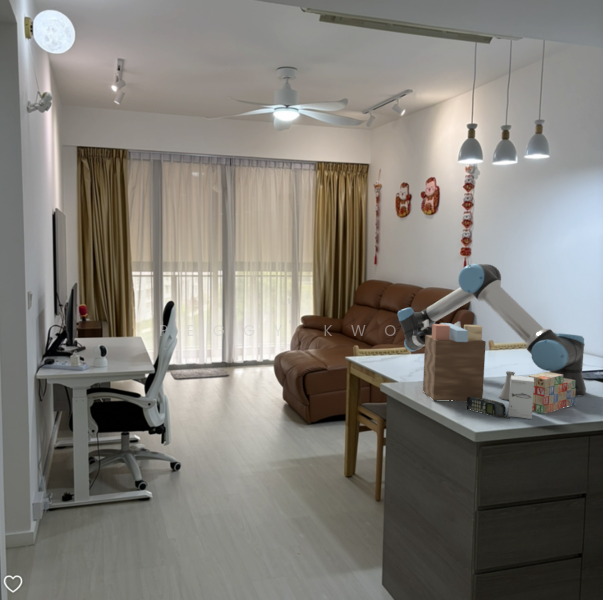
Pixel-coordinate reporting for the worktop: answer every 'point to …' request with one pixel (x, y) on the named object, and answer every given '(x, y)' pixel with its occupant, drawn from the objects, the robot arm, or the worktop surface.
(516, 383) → the supplement box
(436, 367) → the walnut stand
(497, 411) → the mobile phone
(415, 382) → the worktop surface
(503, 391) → the flask
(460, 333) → the blue bar
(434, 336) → the brick cube
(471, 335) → the oak cube
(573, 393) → the stack of blocks
